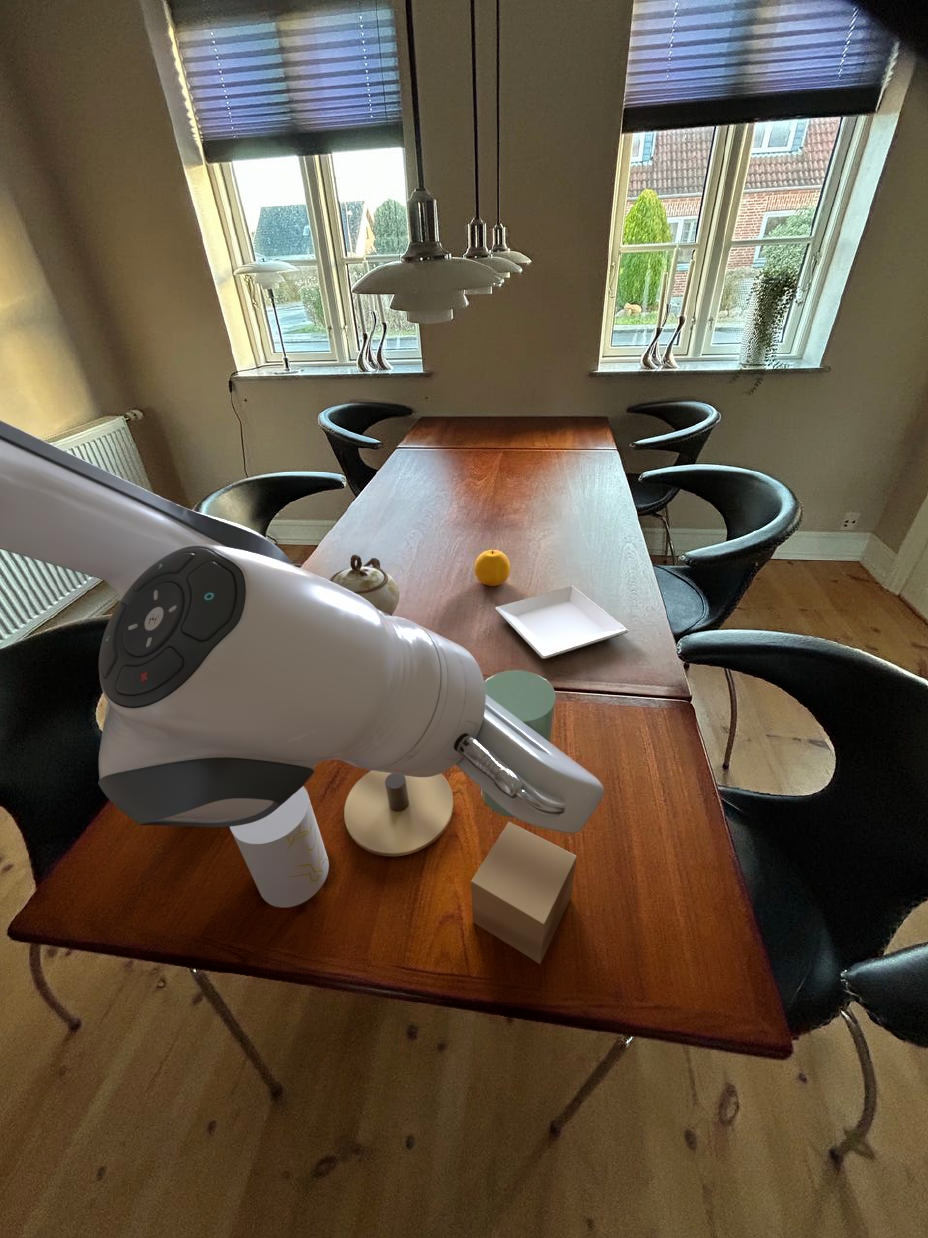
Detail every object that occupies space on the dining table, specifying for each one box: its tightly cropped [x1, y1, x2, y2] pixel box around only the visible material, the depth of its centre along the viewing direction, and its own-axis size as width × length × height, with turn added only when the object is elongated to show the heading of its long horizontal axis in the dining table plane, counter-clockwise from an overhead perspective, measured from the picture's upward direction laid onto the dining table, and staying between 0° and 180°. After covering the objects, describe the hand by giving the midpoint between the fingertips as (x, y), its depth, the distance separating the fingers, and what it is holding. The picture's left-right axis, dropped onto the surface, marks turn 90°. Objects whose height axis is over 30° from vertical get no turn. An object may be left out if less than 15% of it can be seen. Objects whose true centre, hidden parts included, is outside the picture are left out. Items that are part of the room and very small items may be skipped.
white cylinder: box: [229, 785, 330, 908], centre depth 59 cm, size 8×8×12 cm
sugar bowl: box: [328, 554, 400, 616], centre depth 102 cm, size 20×15×15 cm
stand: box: [470, 821, 578, 965], centre depth 56 cm, size 8×8×8 cm
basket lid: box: [343, 770, 454, 857], centre depth 68 cm, size 14×14×6 cm
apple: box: [473, 549, 511, 587], centre depth 116 cm, size 8×8×8 cm
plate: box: [494, 585, 630, 660], centre depth 103 cm, size 19×19×2 cm
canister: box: [480, 669, 557, 819], centre depth 43 cm, size 6×6×11 cm
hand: (520, 735), depth 43 cm, fingers closed on canister, 6 cm apart
